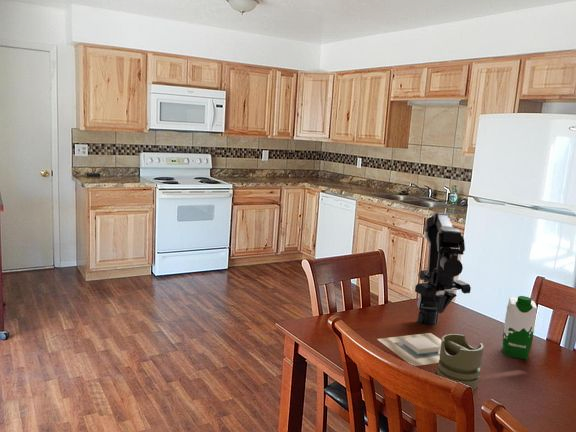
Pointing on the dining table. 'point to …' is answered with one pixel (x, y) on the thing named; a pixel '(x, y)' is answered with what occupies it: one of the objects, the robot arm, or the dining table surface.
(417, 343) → the tile
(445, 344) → the piston
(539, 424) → the dining table surface
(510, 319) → the milk carton
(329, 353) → the dining table surface
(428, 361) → the board
